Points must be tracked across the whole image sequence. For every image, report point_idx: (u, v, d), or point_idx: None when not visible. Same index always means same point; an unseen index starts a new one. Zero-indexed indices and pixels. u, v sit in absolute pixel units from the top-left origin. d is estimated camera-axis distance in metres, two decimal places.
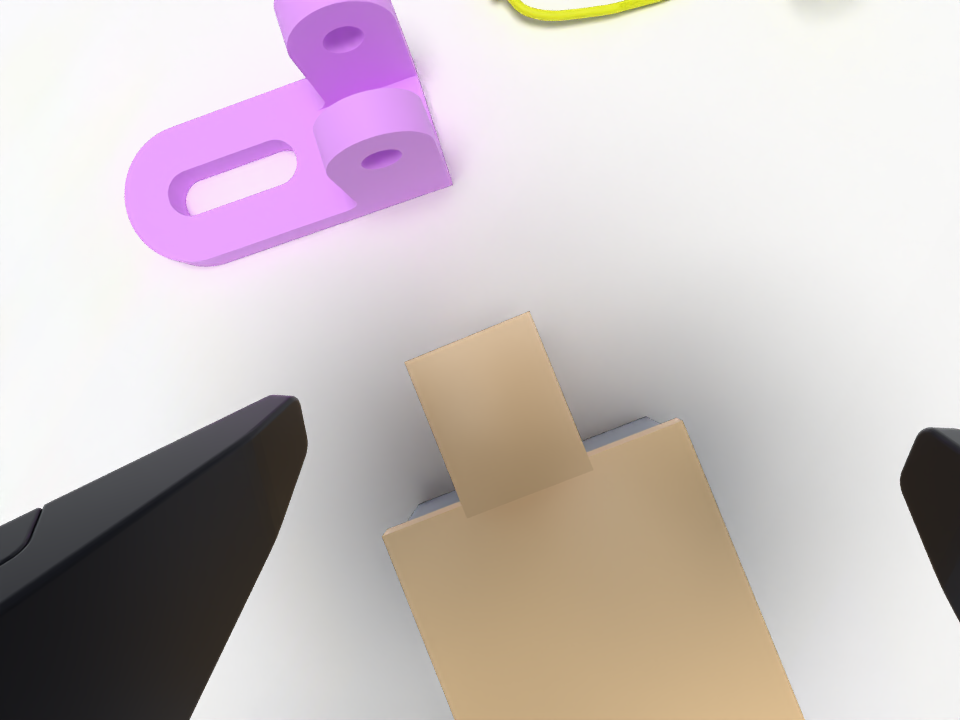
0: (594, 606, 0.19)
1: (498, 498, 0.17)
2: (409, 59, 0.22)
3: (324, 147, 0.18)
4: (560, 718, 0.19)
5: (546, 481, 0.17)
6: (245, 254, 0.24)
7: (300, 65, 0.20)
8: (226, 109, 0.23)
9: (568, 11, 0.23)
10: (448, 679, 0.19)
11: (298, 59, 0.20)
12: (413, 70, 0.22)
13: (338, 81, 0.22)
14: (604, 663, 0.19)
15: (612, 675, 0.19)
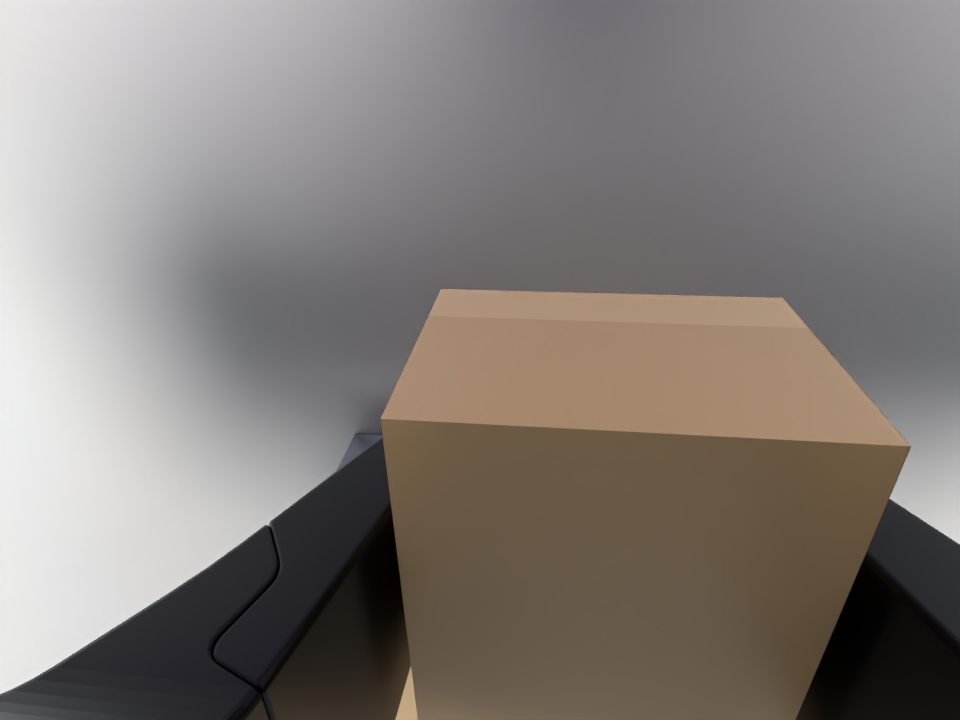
0: None
1: None
2: None
3: None
4: None
5: None
6: None
7: None
8: None
9: None
10: None
11: None
12: None
13: None
14: None
15: None
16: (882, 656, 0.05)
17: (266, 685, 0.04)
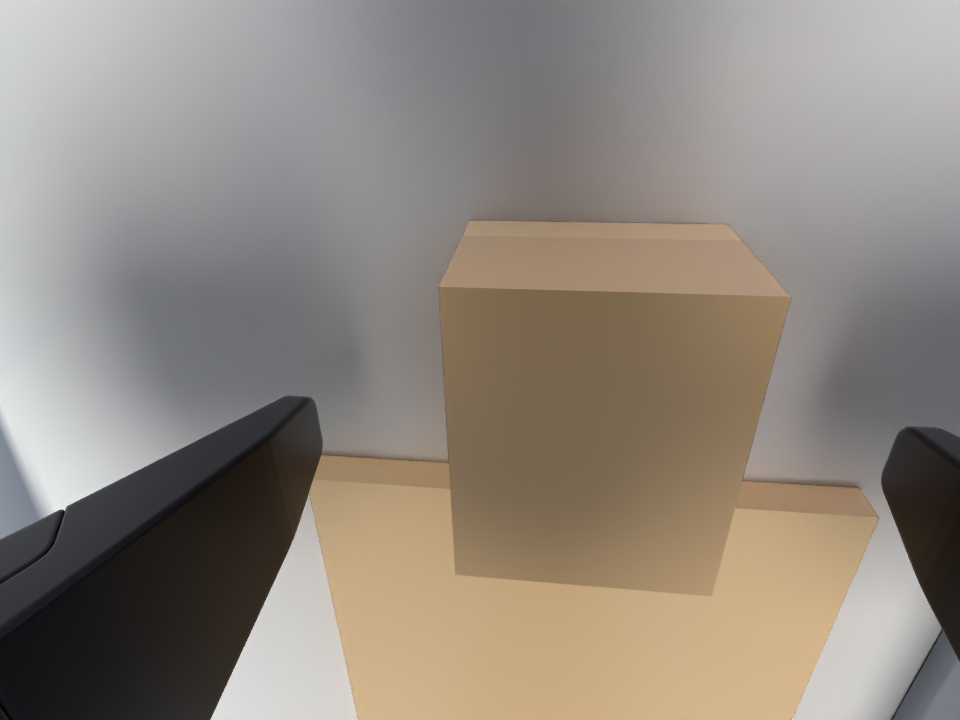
0: (583, 652, 0.13)
1: (523, 572, 0.09)
2: None
3: None
4: (480, 716, 0.15)
5: (620, 580, 0.09)
6: None
7: None
8: None
9: None
10: (354, 646, 0.14)
11: None
12: None
13: None
14: (561, 698, 0.14)
15: (564, 709, 0.14)
16: None
17: None
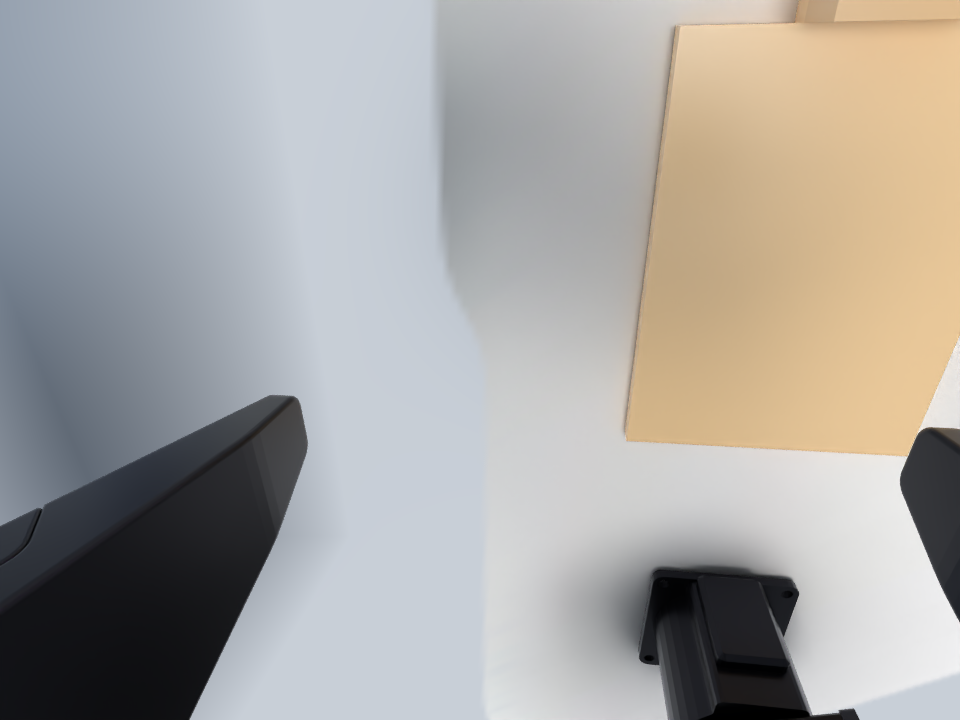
0: (849, 193, 0.18)
1: (885, 9, 0.14)
2: None
3: None
4: (746, 282, 0.20)
5: (951, 10, 0.14)
6: None
7: None
8: None
9: None
10: (666, 210, 0.19)
11: None
12: None
13: None
14: (819, 249, 0.19)
15: (819, 263, 0.19)
16: None
17: None
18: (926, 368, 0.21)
